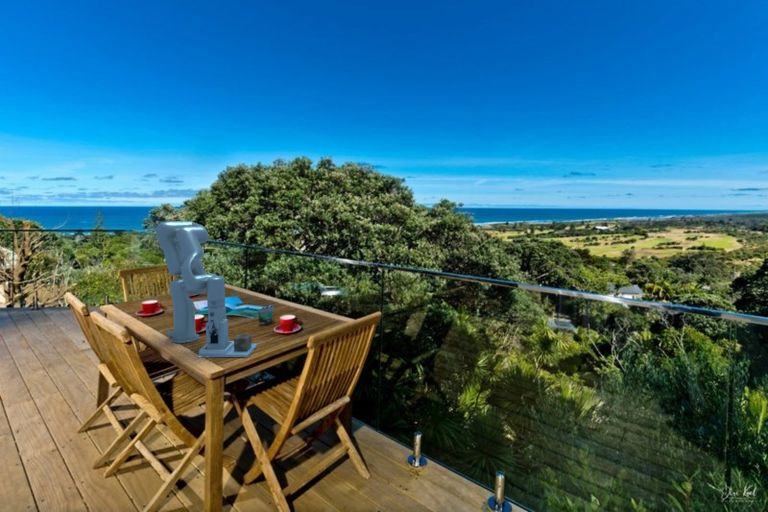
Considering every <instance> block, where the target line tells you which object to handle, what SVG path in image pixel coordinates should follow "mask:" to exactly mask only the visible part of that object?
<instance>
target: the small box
mask: <svg viewBox="0 0 768 512" xmlns="http://www.w3.org/2000/svg"><path fill="white" fill-rule="evenodd" d="M228 321H229V319H228V318H226V319H225V320H224V321H223V322H221V328H220V329H217V335H218V343H217V344H212V343H211V341H210V333H209V327H208V321H207V322H205V333H206V337H205V338H206V344H207V349H216V350H225V349H226V348H227V347H228V345H229V341H230V339H229V322H228ZM213 328H216V327H213ZM213 331H215V330H213Z"/></svg>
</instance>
